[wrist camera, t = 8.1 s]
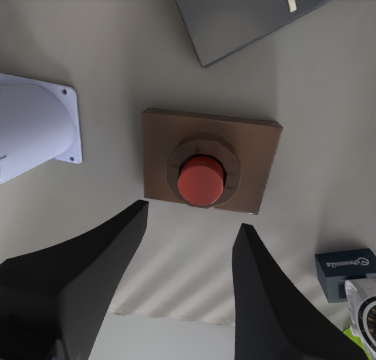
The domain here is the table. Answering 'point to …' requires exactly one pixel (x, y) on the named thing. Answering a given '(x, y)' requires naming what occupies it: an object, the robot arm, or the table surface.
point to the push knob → (201, 180)
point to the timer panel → (236, 23)
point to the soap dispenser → (356, 340)
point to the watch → (352, 289)
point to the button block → (208, 155)
